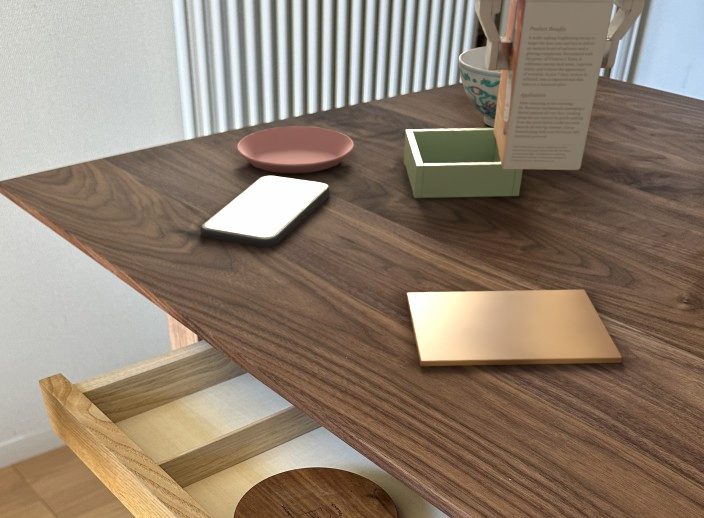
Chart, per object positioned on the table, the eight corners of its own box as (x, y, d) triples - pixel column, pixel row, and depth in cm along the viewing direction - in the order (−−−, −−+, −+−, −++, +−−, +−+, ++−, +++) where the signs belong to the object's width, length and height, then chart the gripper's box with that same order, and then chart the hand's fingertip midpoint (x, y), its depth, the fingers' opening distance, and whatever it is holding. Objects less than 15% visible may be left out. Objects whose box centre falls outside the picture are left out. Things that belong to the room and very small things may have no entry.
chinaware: (478, 144, 109) (485, 78, 104) (437, 110, 120) (442, 49, 115) (585, 133, 111) (598, 68, 106) (535, 102, 122) (545, 41, 117)
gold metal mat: (582, 299, 77) (584, 289, 76) (619, 368, 68) (622, 357, 67) (405, 302, 77) (406, 292, 76) (420, 372, 68) (420, 361, 67)
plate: (217, 172, 103) (215, 154, 101) (270, 137, 112) (270, 120, 111) (324, 188, 98) (324, 171, 97) (370, 150, 108) (371, 134, 106)
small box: (492, 134, 66) (512, -27, 59) (566, 135, 65) (595, -27, 58) (500, 170, 60) (523, -4, 53) (581, 171, 59) (615, -4, 52)
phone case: (273, 256, 85) (334, 197, 96) (272, 241, 84) (334, 183, 95) (196, 243, 88) (263, 187, 99) (194, 228, 87) (262, 173, 98)
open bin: (498, 162, 104) (502, 127, 101) (518, 201, 94) (523, 163, 92) (403, 164, 104) (405, 129, 101) (414, 203, 95) (416, 165, 92)
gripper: (418, -190, 47) (403, 82, 57) (786, -198, 47) (710, 76, 56) (407, -194, 52) (394, 58, 61) (742, -201, 52) (678, 53, 61)
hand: (548, 67), depth 59 cm, fingers closed on small box, 6 cm apart
